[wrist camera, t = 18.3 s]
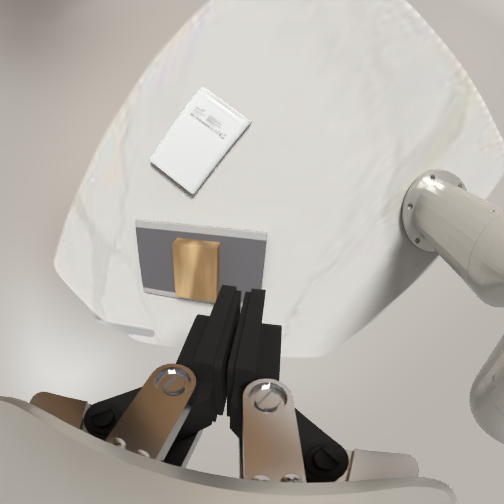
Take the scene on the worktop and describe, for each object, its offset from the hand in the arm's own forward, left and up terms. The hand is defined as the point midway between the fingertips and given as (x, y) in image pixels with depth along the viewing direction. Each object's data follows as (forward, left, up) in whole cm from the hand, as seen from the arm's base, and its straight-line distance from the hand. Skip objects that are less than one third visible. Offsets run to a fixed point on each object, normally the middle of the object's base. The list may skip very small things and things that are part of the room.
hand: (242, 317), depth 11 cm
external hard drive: (+10, -5, -28) cm, 30 cm away
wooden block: (+13, +14, -25) cm, 32 cm away
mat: (+10, +14, -27) cm, 32 cm away
